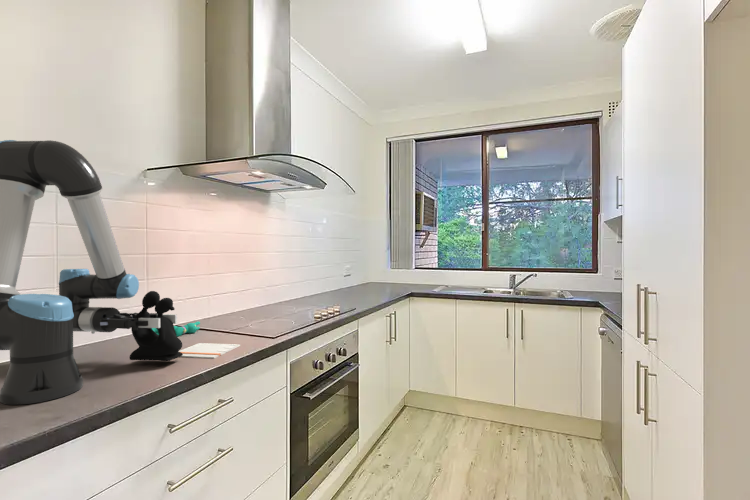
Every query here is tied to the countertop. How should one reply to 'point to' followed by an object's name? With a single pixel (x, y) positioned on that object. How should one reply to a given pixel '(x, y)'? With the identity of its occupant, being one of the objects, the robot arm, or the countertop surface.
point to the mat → (207, 350)
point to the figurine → (148, 340)
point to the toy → (183, 329)
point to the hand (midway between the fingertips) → (167, 321)
